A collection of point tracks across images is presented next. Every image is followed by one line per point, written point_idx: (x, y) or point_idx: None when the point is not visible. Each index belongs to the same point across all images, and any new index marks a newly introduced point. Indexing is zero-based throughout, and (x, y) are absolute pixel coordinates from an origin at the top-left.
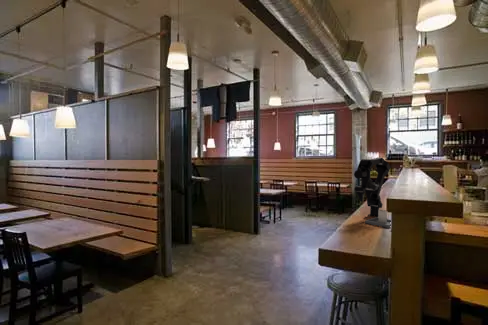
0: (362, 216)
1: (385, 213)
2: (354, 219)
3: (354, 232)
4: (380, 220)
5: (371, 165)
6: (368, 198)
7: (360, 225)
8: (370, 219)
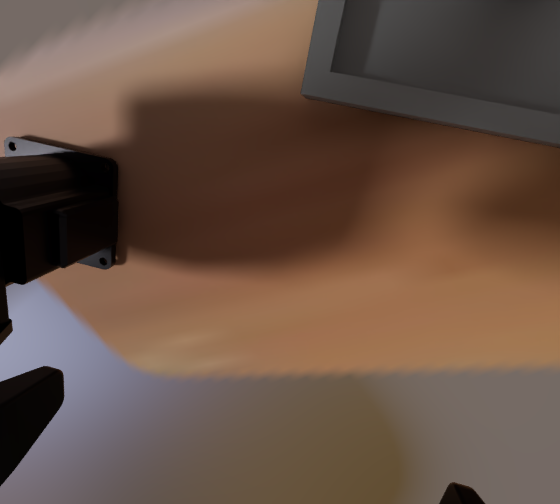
0: (217, 300)
1: None
2: (446, 334)
3: None
4: None
5: None
6: (22, 417)
7: None
8: (556, 119)
